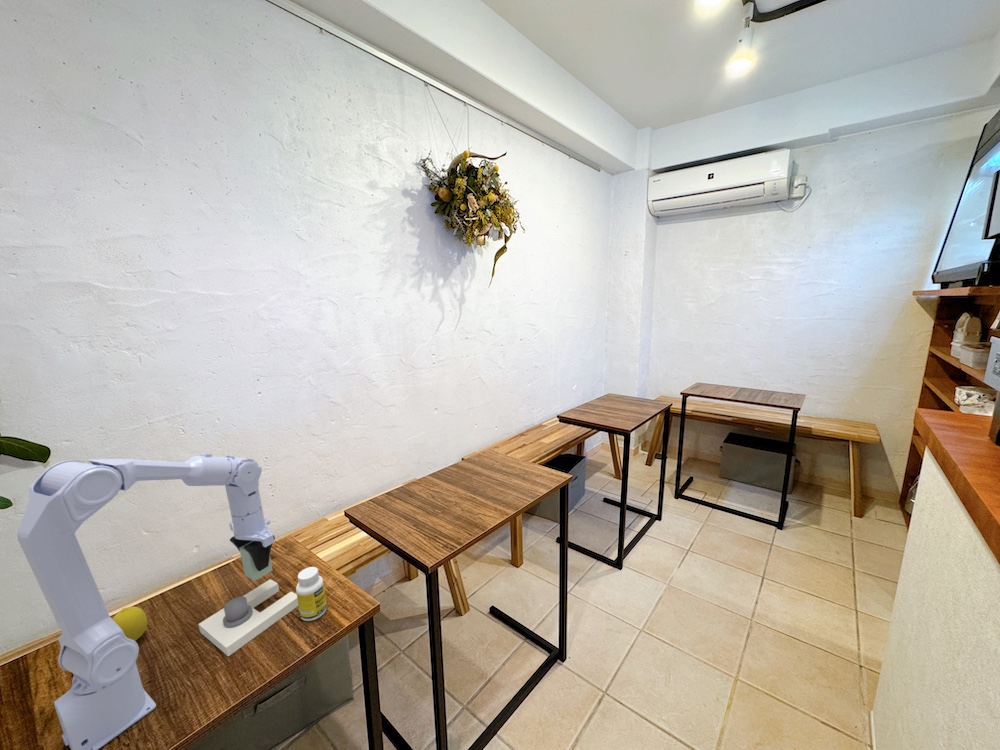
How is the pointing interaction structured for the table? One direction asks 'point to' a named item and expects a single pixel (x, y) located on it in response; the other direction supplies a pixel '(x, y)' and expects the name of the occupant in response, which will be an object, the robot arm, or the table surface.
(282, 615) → the notched board
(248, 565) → the block
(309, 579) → the supplement bottle
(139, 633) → the lemon
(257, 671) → the table surface
